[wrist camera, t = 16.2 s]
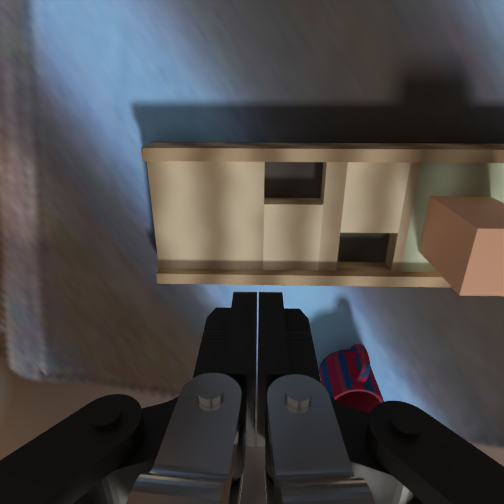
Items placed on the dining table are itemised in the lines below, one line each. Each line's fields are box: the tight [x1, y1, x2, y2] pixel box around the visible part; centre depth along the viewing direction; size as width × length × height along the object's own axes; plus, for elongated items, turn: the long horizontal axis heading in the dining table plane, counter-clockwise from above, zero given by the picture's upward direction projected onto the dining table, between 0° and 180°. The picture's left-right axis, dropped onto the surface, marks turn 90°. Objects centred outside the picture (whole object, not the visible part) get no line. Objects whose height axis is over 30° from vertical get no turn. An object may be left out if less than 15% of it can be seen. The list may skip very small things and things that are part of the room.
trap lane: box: [141, 142, 504, 287], centre depth 38 cm, size 38×14×5 cm, turn 90°
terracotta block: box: [418, 196, 504, 296], centre depth 34 cm, size 6×6×9 cm
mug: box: [319, 344, 384, 413], centre depth 46 cm, size 7×10×7 cm
